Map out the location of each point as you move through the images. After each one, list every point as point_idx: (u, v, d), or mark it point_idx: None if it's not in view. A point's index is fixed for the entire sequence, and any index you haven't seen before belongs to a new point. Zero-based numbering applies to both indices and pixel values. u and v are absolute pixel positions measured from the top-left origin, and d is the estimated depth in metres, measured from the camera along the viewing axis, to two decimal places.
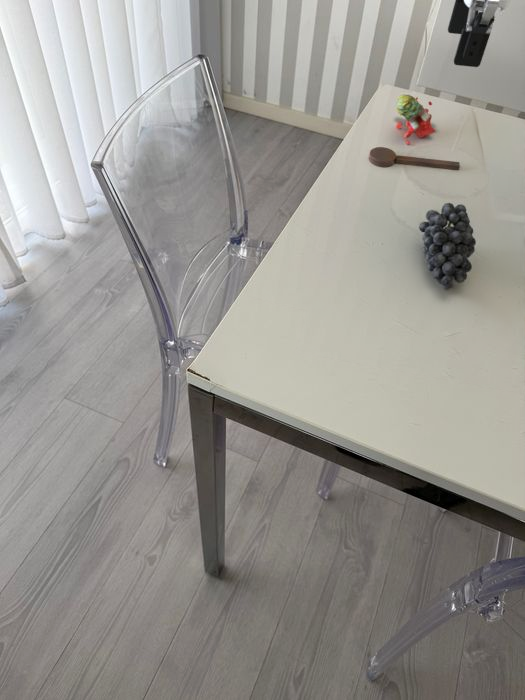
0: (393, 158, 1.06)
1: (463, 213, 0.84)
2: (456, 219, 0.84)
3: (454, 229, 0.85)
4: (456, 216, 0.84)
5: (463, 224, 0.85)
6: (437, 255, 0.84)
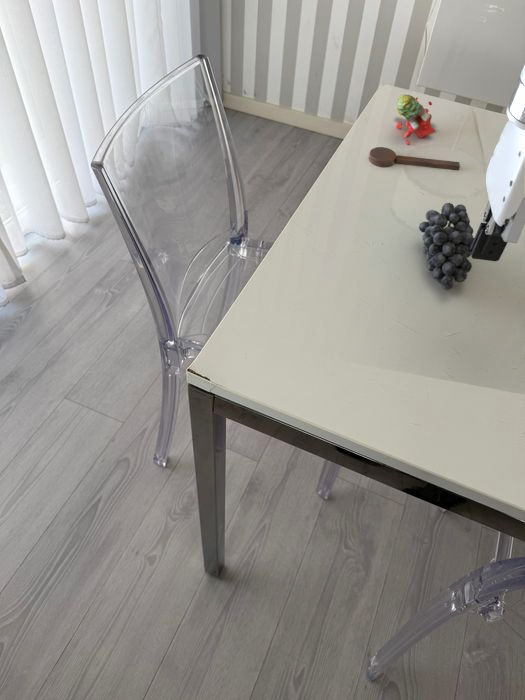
0: (393, 158, 1.06)
1: (463, 213, 0.84)
2: (456, 219, 0.84)
3: (454, 229, 0.85)
4: (456, 216, 0.84)
5: (463, 224, 0.85)
6: (437, 255, 0.84)
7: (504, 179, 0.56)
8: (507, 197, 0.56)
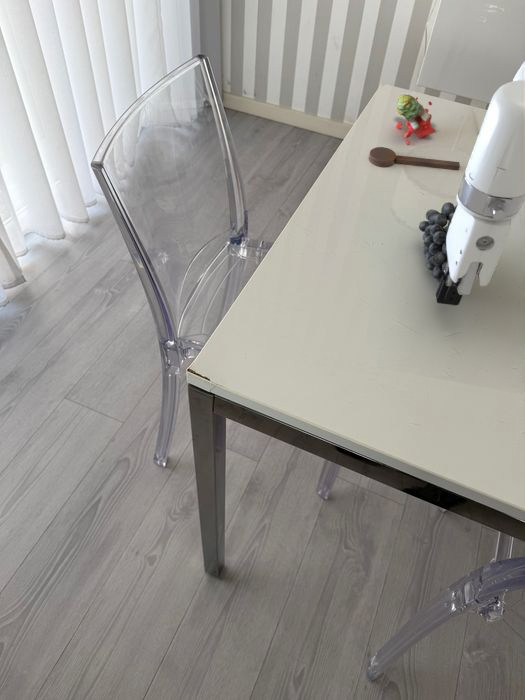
0: (393, 158, 1.06)
1: None
2: None
3: None
4: None
5: None
6: (437, 254, 0.84)
7: (456, 247, 0.72)
8: (458, 262, 0.71)
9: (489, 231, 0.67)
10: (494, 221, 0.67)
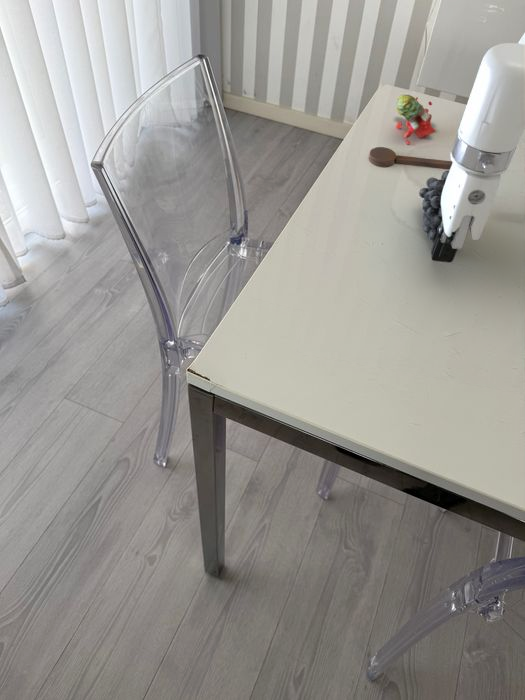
0: (393, 158, 1.06)
1: None
2: None
3: None
4: None
5: None
6: (433, 217, 0.89)
7: (450, 203, 0.77)
8: (452, 216, 0.76)
9: (480, 185, 0.72)
10: (484, 175, 0.72)
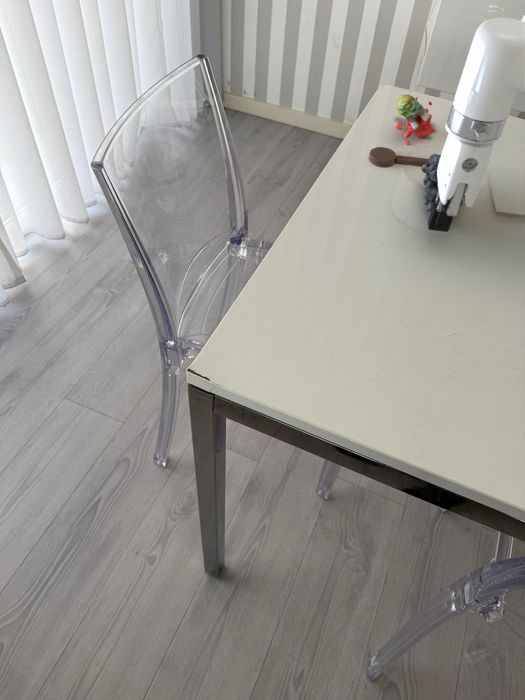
0: (393, 158, 1.06)
1: None
2: None
3: None
4: None
5: None
6: (432, 190, 0.94)
7: (445, 171, 0.82)
8: (447, 184, 0.81)
9: (473, 153, 0.77)
10: (477, 144, 0.77)
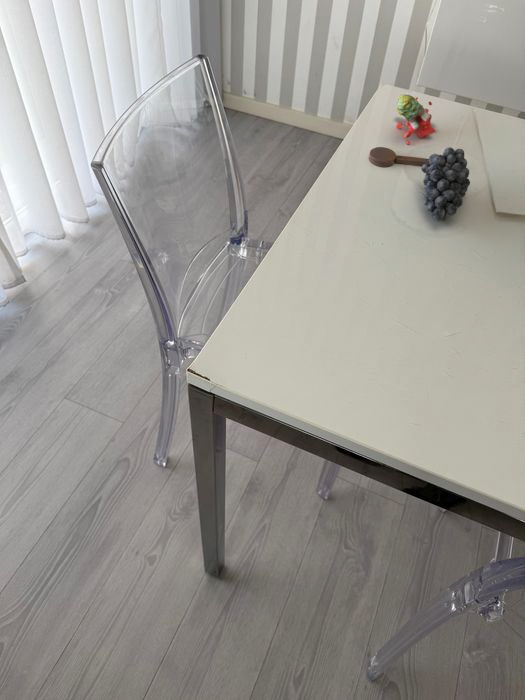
0: (393, 158, 1.06)
1: (460, 155, 0.95)
2: (453, 160, 0.95)
3: (450, 169, 0.95)
4: (453, 157, 0.94)
5: (459, 165, 0.95)
6: (432, 190, 0.94)
7: None
8: None
9: None
10: None
